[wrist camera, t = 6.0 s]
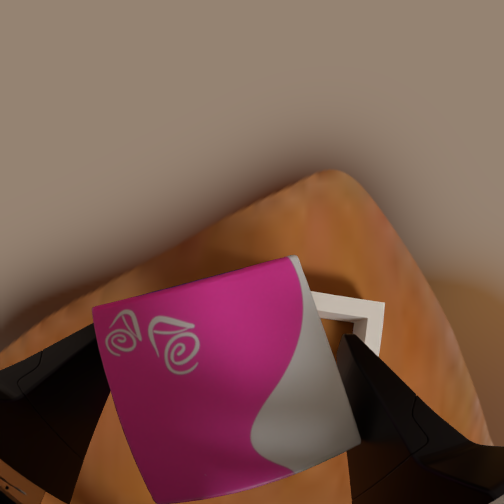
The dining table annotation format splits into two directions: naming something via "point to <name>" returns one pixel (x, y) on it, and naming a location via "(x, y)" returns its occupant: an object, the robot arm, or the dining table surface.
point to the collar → (354, 316)
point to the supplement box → (225, 382)
